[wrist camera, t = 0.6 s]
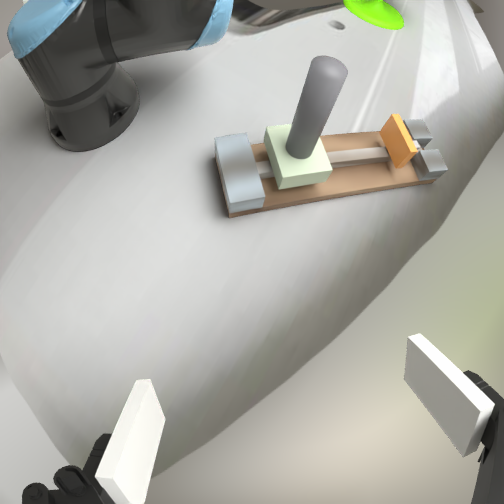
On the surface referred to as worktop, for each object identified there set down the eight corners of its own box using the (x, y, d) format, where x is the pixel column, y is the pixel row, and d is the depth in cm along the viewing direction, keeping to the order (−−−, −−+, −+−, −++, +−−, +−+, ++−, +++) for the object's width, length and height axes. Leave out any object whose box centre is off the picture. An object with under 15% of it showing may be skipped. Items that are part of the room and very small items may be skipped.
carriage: (263, 141, 39) (283, 43, 24) (308, 135, 40) (344, 43, 24) (278, 189, 37) (311, 98, 22) (325, 181, 38) (376, 96, 23)
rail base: (215, 156, 42) (214, 137, 37) (410, 134, 46) (422, 119, 42) (229, 218, 40) (230, 203, 35) (432, 182, 44) (448, 169, 40)
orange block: (379, 132, 41) (391, 114, 37) (406, 131, 42) (420, 114, 38) (395, 168, 40) (410, 152, 35) (422, 165, 41) (438, 150, 36)
